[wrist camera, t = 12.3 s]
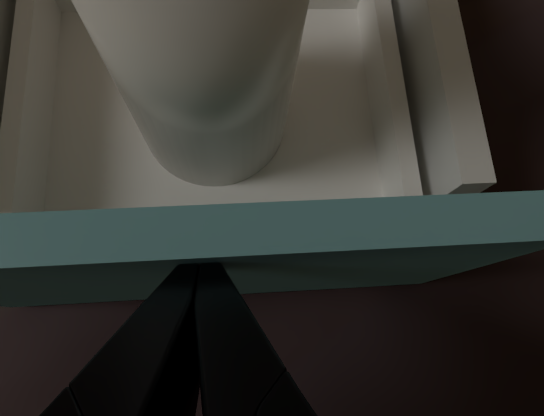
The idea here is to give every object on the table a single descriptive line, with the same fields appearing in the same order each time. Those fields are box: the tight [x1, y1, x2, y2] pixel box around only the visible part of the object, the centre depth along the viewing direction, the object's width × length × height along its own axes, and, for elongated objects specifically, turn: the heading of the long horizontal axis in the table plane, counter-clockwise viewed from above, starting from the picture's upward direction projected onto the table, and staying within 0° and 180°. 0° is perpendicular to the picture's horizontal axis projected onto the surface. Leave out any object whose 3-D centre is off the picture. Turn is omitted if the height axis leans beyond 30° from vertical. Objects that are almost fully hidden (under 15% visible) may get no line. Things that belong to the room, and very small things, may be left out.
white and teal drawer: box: [0, 0, 544, 307], centre depth 13 cm, size 12×15×8 cm
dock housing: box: [0, 0, 497, 195], centre depth 16 cm, size 12×16×5 cm
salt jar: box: [71, 0, 309, 187], centre depth 10 cm, size 5×5×12 cm
